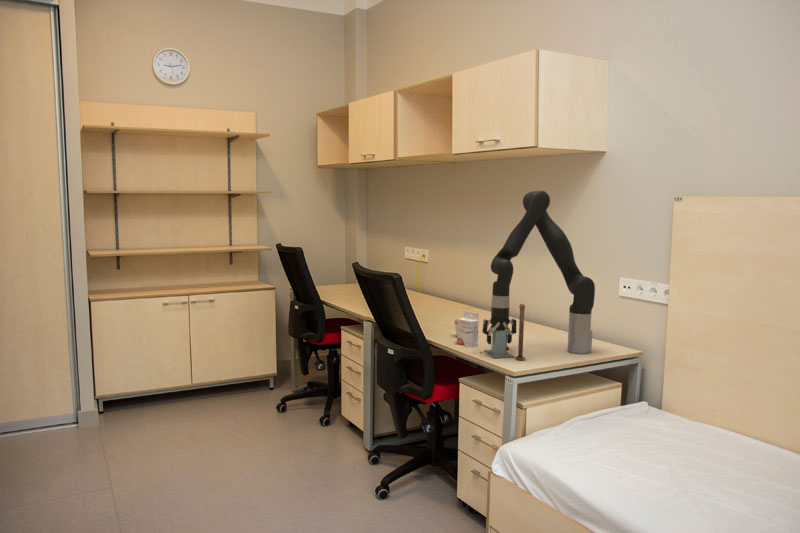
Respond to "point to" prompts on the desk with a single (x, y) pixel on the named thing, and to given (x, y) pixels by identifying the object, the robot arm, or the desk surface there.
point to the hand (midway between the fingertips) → (499, 343)
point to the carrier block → (499, 342)
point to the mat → (498, 355)
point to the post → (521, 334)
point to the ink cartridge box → (468, 329)
